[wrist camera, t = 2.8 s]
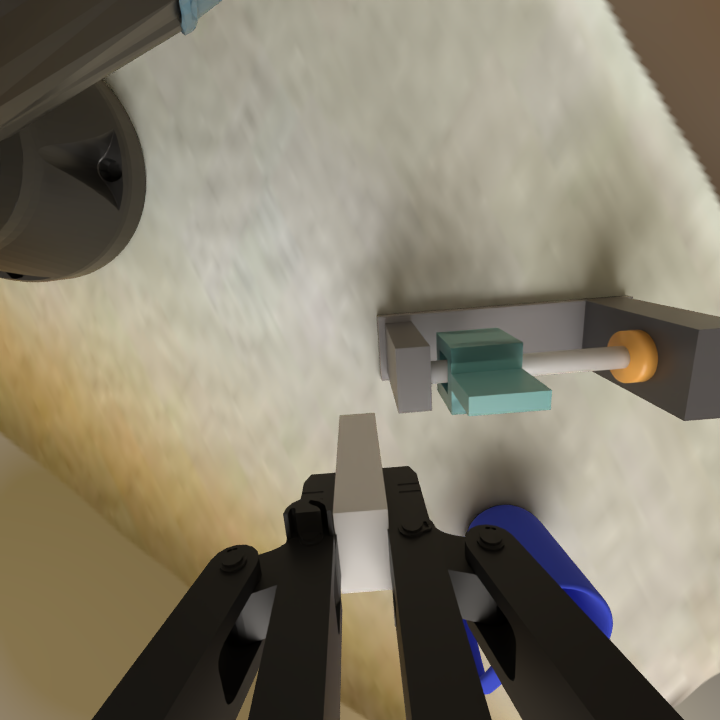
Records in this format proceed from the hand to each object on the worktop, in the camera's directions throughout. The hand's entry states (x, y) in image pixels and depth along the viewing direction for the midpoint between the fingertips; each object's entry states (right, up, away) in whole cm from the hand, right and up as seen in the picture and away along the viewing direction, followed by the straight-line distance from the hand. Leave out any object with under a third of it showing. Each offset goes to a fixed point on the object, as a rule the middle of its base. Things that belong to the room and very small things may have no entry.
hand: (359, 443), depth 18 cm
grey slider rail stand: (+10, +5, +14) cm, 18 cm away
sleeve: (+7, +4, +9) cm, 12 cm away
